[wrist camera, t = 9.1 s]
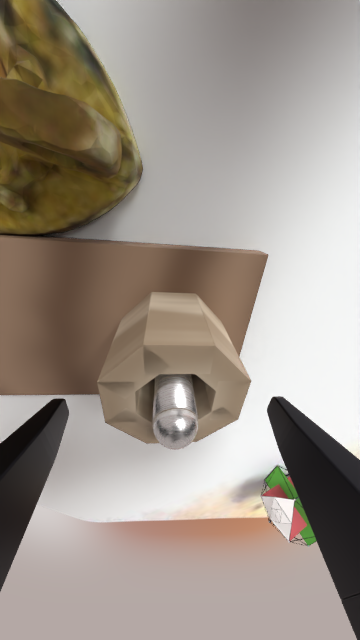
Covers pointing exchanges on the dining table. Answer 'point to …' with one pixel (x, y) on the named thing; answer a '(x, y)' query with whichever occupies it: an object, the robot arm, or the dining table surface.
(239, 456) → the dining table surface
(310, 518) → the robot arm
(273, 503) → the geometric puzzle
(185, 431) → the steel post
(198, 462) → the dining table surface
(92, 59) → the olive gold carved ornament
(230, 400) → the beech bead
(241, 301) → the board
